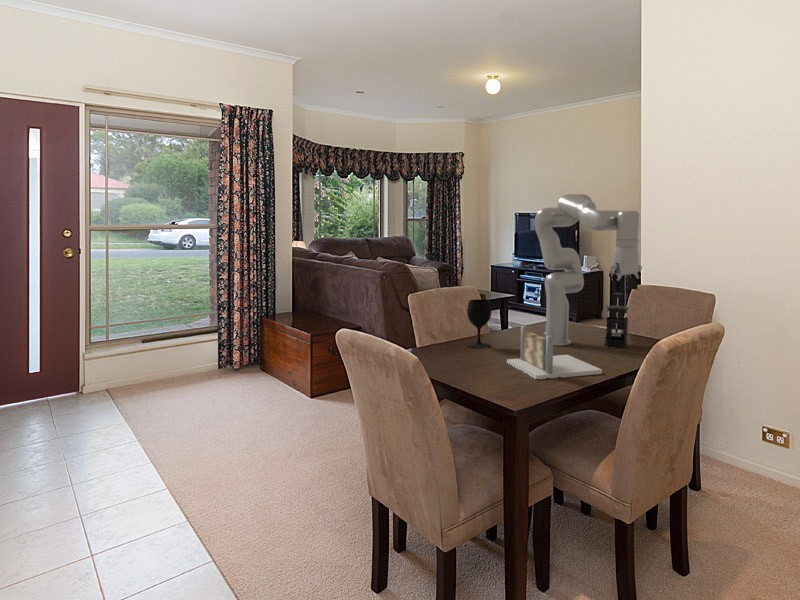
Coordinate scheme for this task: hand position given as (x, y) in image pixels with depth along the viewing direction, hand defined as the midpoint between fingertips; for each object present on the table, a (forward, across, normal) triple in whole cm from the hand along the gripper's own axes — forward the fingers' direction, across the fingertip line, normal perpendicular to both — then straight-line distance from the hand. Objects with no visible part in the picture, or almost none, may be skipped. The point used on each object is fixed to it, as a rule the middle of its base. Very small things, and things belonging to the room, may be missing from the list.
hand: (624, 290), depth 207 cm
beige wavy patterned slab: (+26, +34, -10) cm, 44 cm away
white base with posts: (+28, +28, -8) cm, 40 cm away
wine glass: (+28, +27, -52) cm, 65 cm away
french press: (+28, -22, -20) cm, 41 cm away
